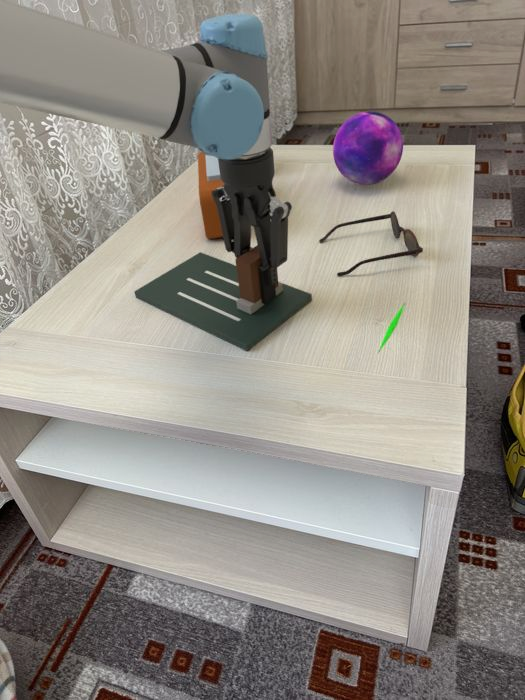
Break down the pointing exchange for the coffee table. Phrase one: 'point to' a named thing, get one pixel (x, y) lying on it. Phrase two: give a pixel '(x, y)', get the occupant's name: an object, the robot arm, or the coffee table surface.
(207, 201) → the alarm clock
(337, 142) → the decorative orb
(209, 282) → the chalkboard
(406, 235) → the eyeglasses
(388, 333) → the leaf
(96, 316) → the coffee table surface
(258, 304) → the eraser
